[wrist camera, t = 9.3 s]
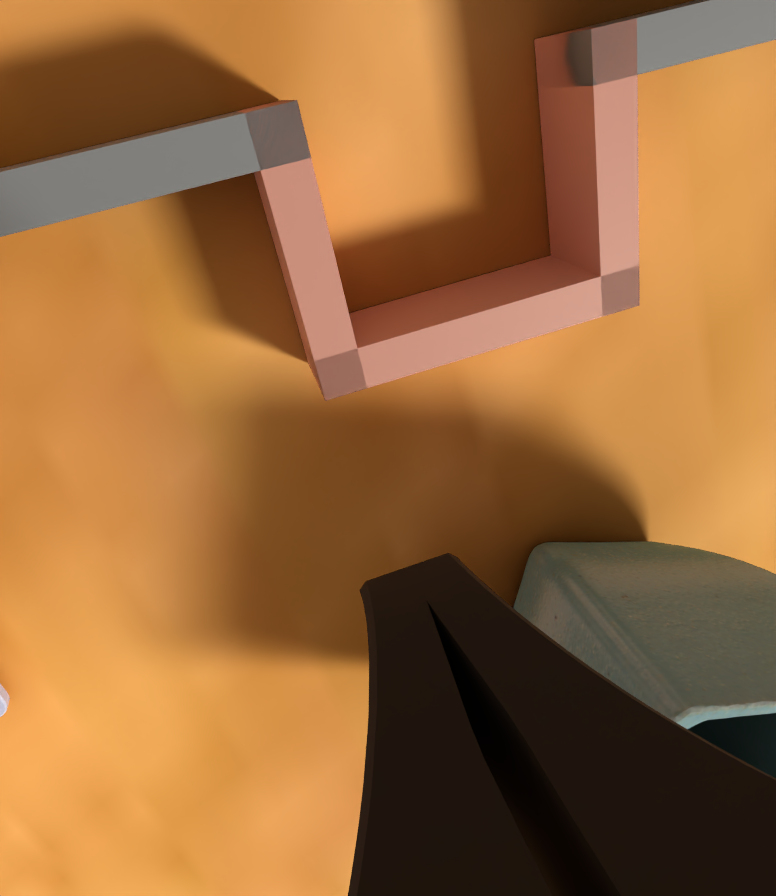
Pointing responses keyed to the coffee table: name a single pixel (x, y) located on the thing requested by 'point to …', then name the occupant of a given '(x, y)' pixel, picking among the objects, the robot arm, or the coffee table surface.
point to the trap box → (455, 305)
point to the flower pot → (667, 632)
